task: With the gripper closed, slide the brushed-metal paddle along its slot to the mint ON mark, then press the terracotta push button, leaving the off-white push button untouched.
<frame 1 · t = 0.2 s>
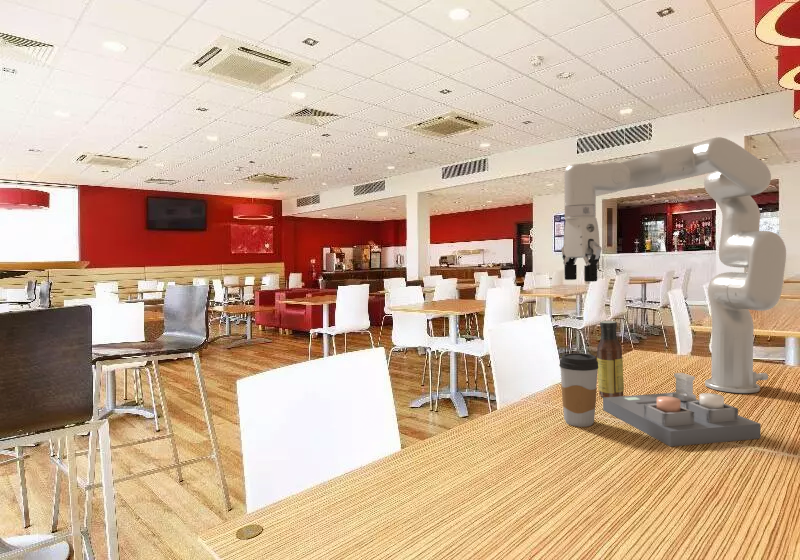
hand: (580, 280, 131), 31 cm above the table, fingers open, 9 cm apart
slider knob: (684, 386, 120), point 6 cm above the table, slide at 0.0 cm
offwhite button: (711, 401, 108), point 6 cm above the table, slide at 0.0 cm
coffee cup: (579, 423, 115), on the table
terracotta button: (668, 404, 106), point 6 cm above the table, slide at 0.0 cm
sauce bottle: (610, 397, 135), on the table
control panel: (674, 422, 113), on the table
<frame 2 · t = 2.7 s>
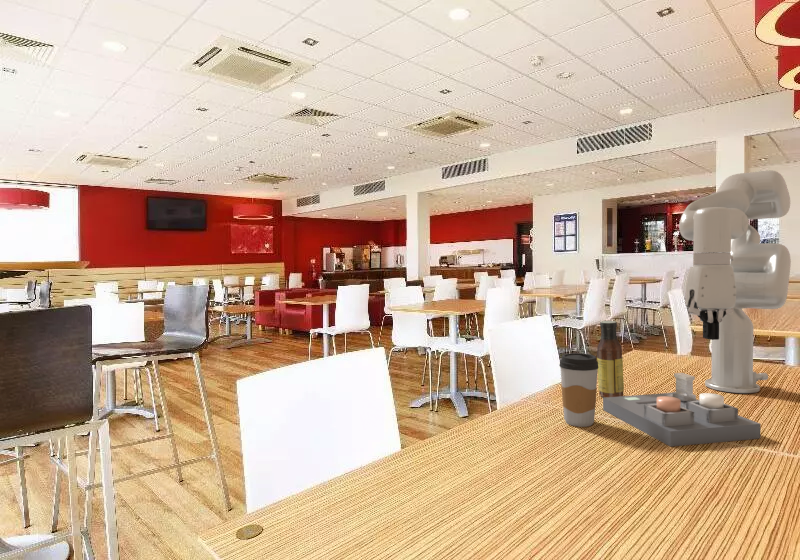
hand: (710, 338, 120), 17 cm above the table, fingers closed
nothing on the table moved.
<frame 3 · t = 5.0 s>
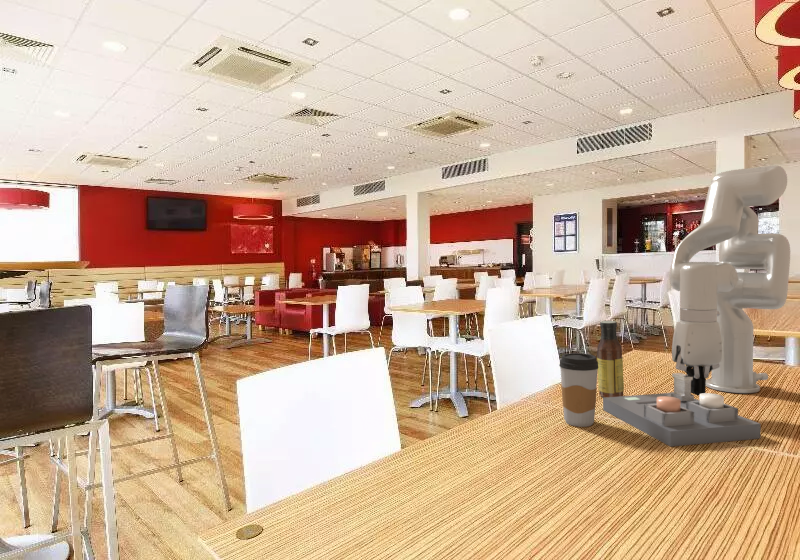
hand: (697, 393, 120), 4 cm above the table, fingers closed
slider knob: (682, 386, 120), point 6 cm above the table, slide at 0.5 cm, touching gripper
everything else where it was.
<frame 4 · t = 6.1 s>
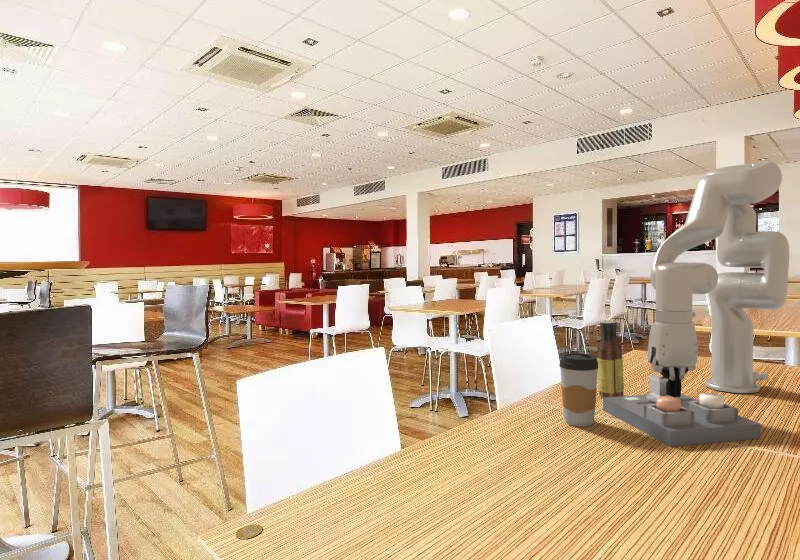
hand: (673, 395, 120), 4 cm above the table, fingers closed
slider knob: (657, 388, 119), point 6 cm above the table, slide at 6.8 cm, touching gripper
everything else where it was.
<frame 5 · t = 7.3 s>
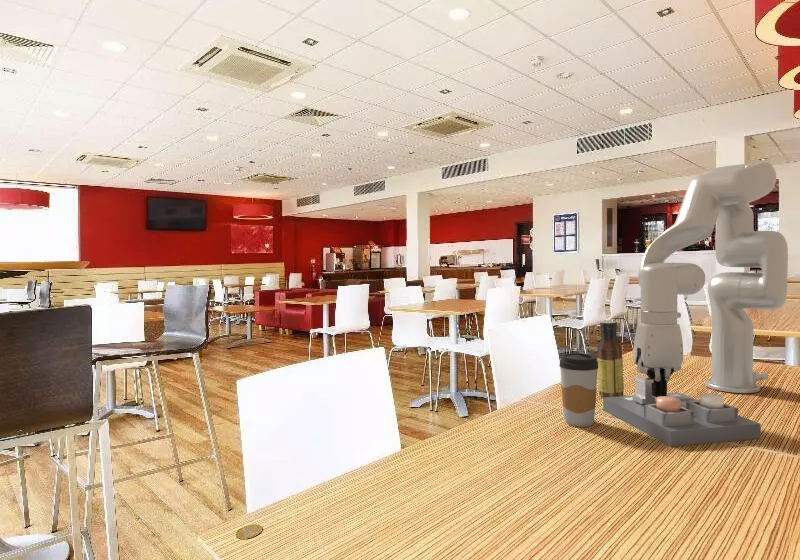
hand: (658, 396, 119), 4 cm above the table, fingers closed
slider knob: (643, 389, 118), point 6 cm above the table, slide at 10.4 cm, touching gripper
everything else where it was.
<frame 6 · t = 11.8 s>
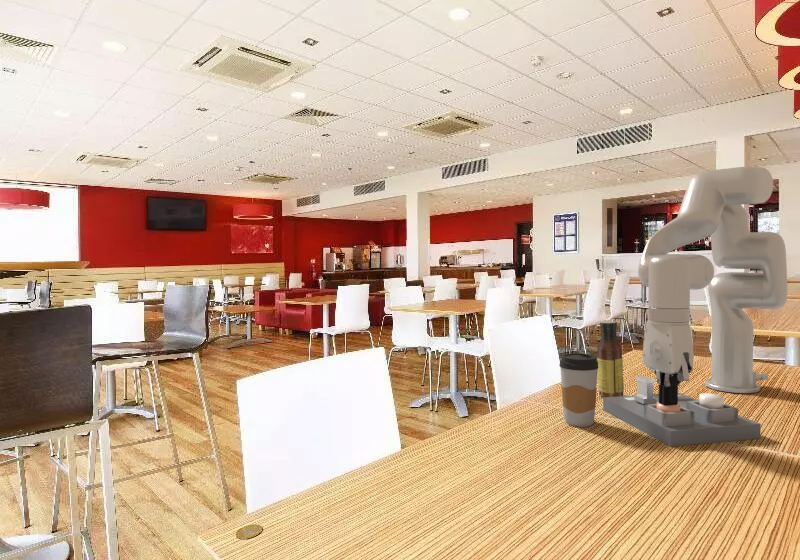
hand: (668, 403, 106), 6 cm above the table, fingers closed
slider knob: (645, 389, 118), point 6 cm above the table, slide at 10.0 cm
terracotta button: (668, 409, 106), point 5 cm above the table, slide at 1.0 cm, touching gripper
everything else where it was.
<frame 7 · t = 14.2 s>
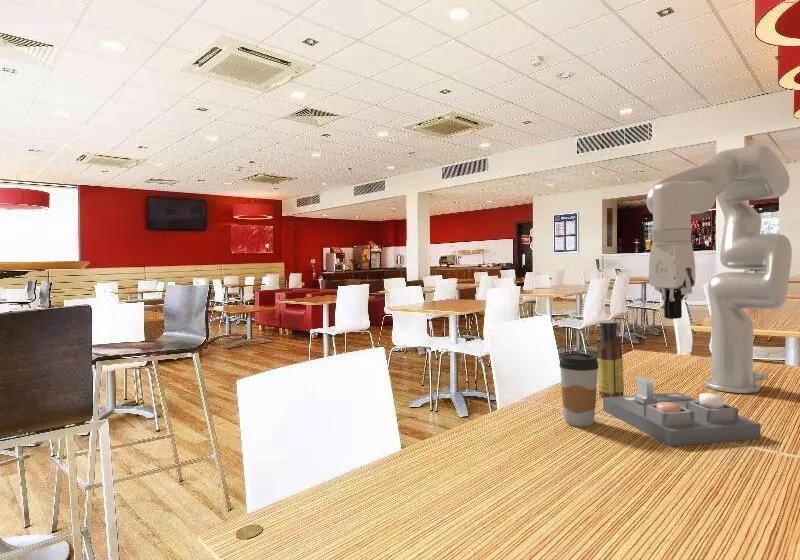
hand: (673, 317, 117), 23 cm above the table, fingers closed
terracotta button: (668, 410, 106), point 5 cm above the table, slide at 1.2 cm
everything else where it was.
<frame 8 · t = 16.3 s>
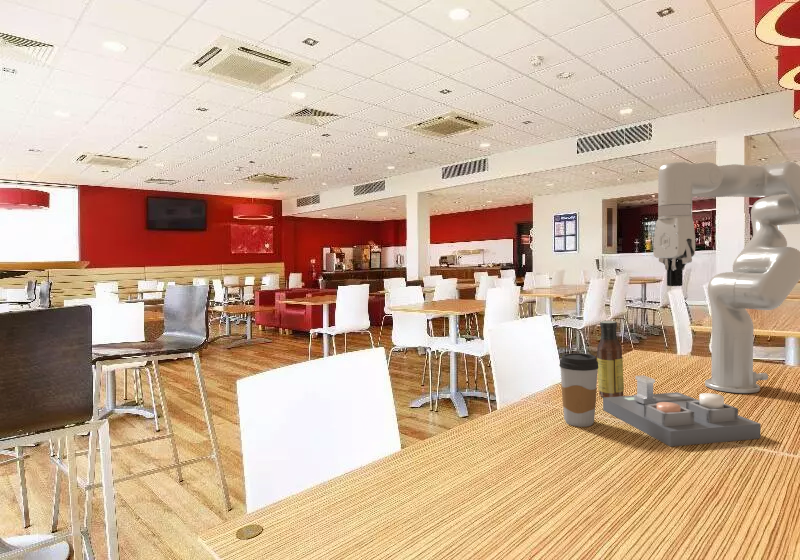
hand: (674, 285, 129), 29 cm above the table, fingers closed
nothing on the table moved.
at the end: slider knob slide at 10.0 cm; terracotta button slide at 1.2 cm; offwhite button slide at 0.0 cm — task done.
